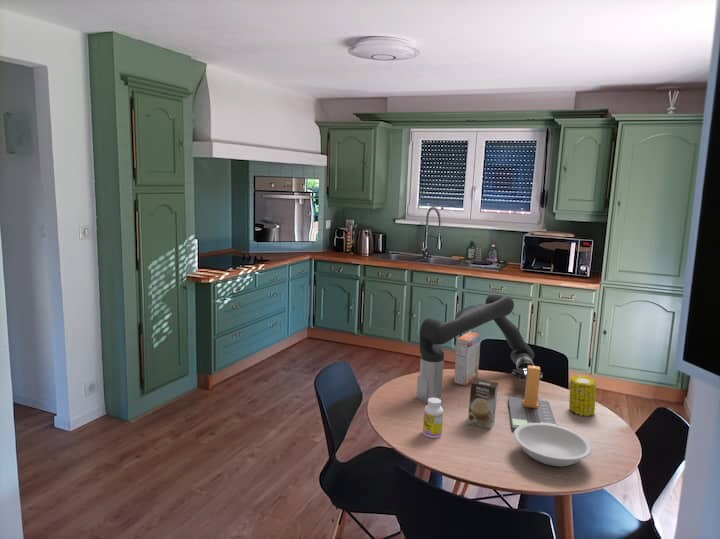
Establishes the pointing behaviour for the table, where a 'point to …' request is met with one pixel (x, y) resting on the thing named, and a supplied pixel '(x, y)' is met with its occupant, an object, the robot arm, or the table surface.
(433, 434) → the supplement bottle
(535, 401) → the block
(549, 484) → the table surface
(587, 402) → the food
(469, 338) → the cracker box
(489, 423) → the coffee box
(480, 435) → the table surface
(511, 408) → the fader board
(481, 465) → the table surface
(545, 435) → the soup bowl
